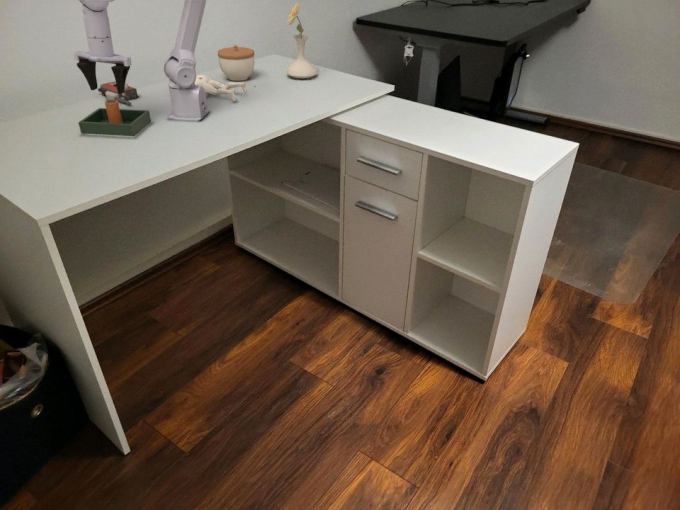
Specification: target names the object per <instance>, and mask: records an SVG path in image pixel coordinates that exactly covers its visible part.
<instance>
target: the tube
mask: <svg viewBox="0 0 680 510" xmlns="http://www.w3.org/2000/svg"><path fill="white" fill-rule="evenodd" d="M119 103H120V102H119V101H117V100H105V101H104V106H105V108H106V111H107V115H108V119H109V123H118V124H123V121H122V116H121V112H120V109H121V108H120V104H119Z"/></svg>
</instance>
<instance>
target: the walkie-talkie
mask: <svg viewBox="0 0 680 510" xmlns="http://www.w3.org/2000/svg"><path fill="white" fill-rule="evenodd" d="M97 91H98V92H99V93H101V95H103V96H105V97H106V101H108V100H117V101H118V103H121V104H125V105H129V106H131V105H132V102H131V101H129V100H132V99H136V98H138V97H139V96H138V90H137V88H135V87H133V86H130V85H128V83H126V82H125V90H124V92H123V93H121V94H118V91H117V86H116V80H114V81H113V80H112V81H109V82H106V83H102V84H100V86H99V88H97Z"/></svg>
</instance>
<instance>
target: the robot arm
mask: <svg viewBox="0 0 680 510" xmlns="http://www.w3.org/2000/svg"><path fill="white" fill-rule="evenodd" d="M114 1H115V0H78V2H80V4H82V5H81V6H82V7H81V8H82V13H83V23H84V29H85V35H86V40H87V47H88V51H81V50H76V51H74V52H72V53H73V58H74V61H78V62H76V67H77V68H78V69H79V71H81V73H82V75H83V76H84V78H85V80H86V82H87V84H88V86H89V89H90V91H96V90H98V80H97V63H100V64H101V63H102V64H110V65H113V66H111V68H110V69H111V72H112V74H113V78H114V79H115V80H114V81H116V86H117V91H118V94H121V93H123V92H124V90H125V83H126V81H127V77H128V74H129V71H130V69H131V66H132V59H131V56H125V55H121V54H117V53H115V52H114V51H115V50H114V44H113V39H112V32H111V26H110V18H109V16H108V14H109V13H108V7H109V4H110V2H111V3H113V2H114ZM206 4H207V0H184V3H183V8H182V12H181V17H180V21H179V25H178V29H177V35H176V40H175V43H174V46H173V48H172V50H171V51H170V52H169V56H168V59H166V61H165V62H164V64H163V72H164V74H165V76H166V77H167V78H168V79H169V81H168V91H169V96H170V102H171V108H172V114H170V115H169V116H168V119H179V120H180V119H183V120H197V121H201V120H203V118H204V117H205V116H206V115H207V114H208V113H209V110H208V103H207V97H206V96H207V95H205V94H206V93H205V90H204V88H203V87H202V86H198V85H195V80H196V75H197V71H196V65H197V60H196V56H195V51H196V47H197V43H198V37H199V33H200V30H201V26H202V21H203V16H204V13H205V7H206Z"/></svg>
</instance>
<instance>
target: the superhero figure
mask: <svg viewBox="0 0 680 510" xmlns="http://www.w3.org/2000/svg"><path fill="white" fill-rule="evenodd" d="M195 85H198V86H202V87H203V88H204V90H205V96H206V98H208V97H209V96H208V95H209V94H210V95H213V96H220V95H230V97H231V99H232V101H233V102H234V103H236V102H237V96H236V91H235V89H232V88H237V87H241V89H242V91H243V93H244V94H247V93H248V88H247V86H246V82H245V81H237V82H236V81H229V82H227V83H226V84H224V83H222V82H220V81H219V80H218V81H217V80H213V79H211V78H210V77H208V76H206V75H204V74H203V73H200V74H196V80H195Z"/></svg>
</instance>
